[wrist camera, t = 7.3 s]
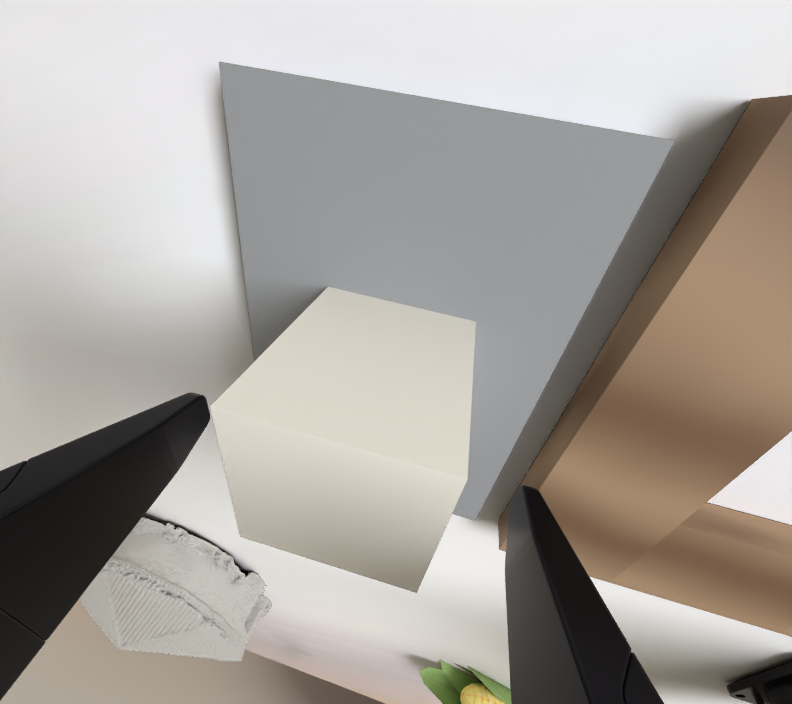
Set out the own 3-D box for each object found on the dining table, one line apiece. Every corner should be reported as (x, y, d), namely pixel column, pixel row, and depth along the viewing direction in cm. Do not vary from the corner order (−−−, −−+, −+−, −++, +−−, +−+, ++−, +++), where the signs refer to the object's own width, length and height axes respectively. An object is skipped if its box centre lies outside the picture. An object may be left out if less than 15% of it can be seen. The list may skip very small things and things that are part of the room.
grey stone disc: (293, 628, 37) (260, 716, 32) (135, 586, 40) (80, 660, 35) (254, 525, 26) (193, 632, 21) (42, 479, 29) (-61, 561, 24)
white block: (441, 427, 14) (416, 592, 9) (324, 395, 14) (240, 536, 9) (475, 321, 11) (466, 479, 6) (328, 286, 11) (209, 406, 7)
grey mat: (475, 502, 18) (474, 520, 17) (275, 444, 19) (265, 459, 18) (656, 139, 8) (675, 140, 8) (241, 67, 9) (218, 61, 9)
